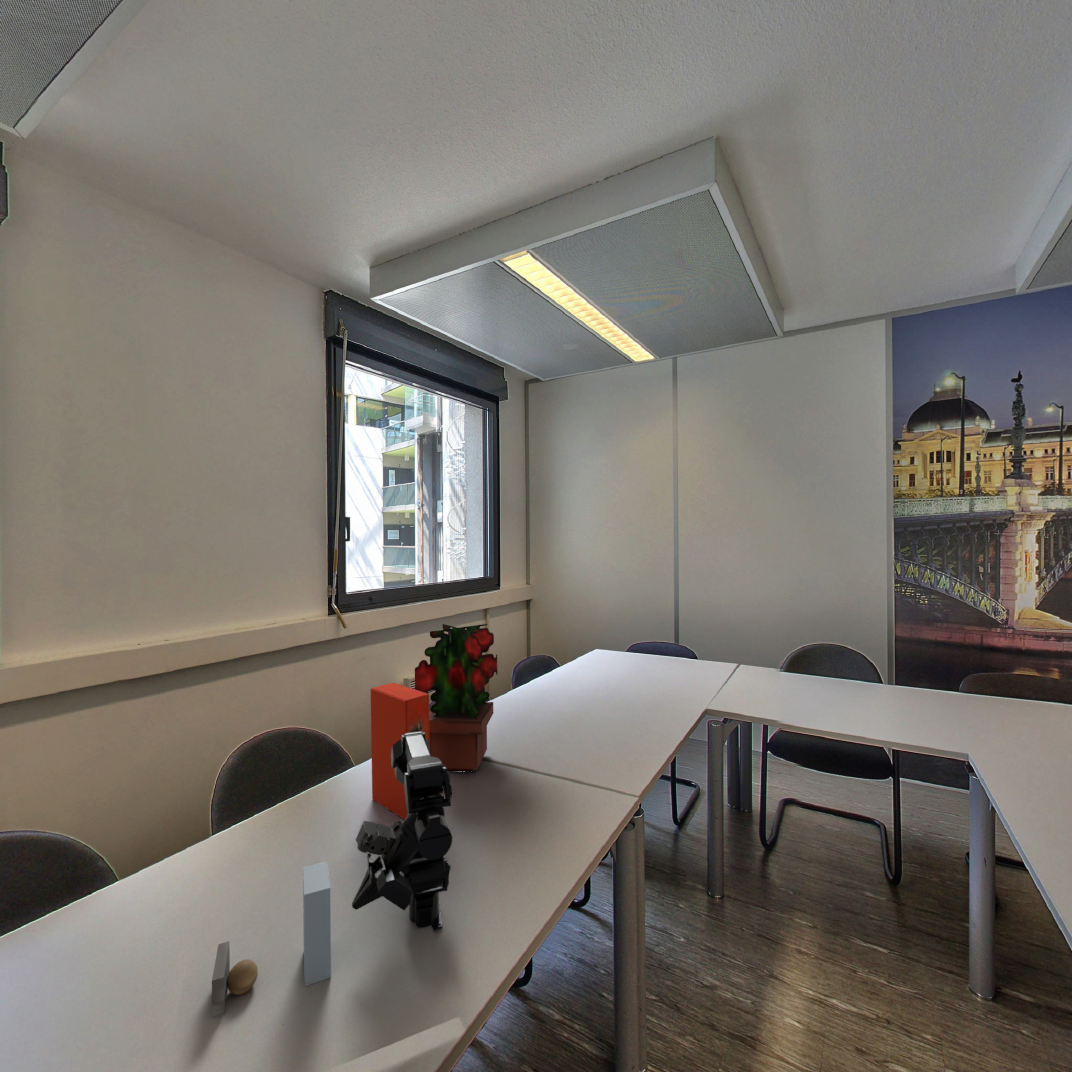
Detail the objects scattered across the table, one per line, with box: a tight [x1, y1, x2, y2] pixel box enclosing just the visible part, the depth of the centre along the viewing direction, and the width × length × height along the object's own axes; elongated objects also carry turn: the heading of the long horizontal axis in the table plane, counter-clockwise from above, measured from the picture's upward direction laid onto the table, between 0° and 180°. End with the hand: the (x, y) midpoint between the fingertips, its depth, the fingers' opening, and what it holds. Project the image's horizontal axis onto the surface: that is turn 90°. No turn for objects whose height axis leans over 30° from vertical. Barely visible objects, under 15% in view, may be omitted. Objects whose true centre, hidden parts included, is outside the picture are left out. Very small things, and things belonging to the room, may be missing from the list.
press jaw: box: [302, 860, 332, 987], centre depth 90 cm, size 4×8×15 cm, turn 25°
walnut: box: [227, 959, 259, 996], centre depth 85 cm, size 4×4×4 cm
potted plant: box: [414, 623, 498, 773], centre depth 173 cm, size 22×22×45 cm
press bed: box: [211, 940, 231, 1019], centre depth 88 cm, size 20×11×7 cm, turn 115°
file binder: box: [370, 682, 430, 821], centre depth 147 cm, size 8×17×32 cm, turn 47°
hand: (353, 907), depth 93 cm, fingers closed
